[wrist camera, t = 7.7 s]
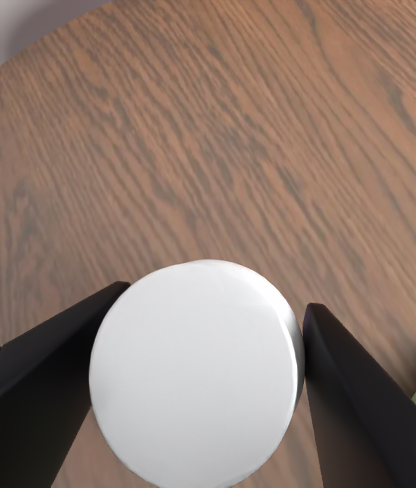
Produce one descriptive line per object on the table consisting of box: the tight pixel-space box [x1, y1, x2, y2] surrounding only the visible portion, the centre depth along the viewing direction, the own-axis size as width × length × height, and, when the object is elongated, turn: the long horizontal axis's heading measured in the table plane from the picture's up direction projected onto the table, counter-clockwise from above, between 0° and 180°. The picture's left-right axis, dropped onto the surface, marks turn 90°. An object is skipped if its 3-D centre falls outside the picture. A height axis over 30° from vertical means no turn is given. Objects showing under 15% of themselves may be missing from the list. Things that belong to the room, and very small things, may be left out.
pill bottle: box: [89, 259, 306, 488], centre depth 10 cm, size 5×5×10 cm
